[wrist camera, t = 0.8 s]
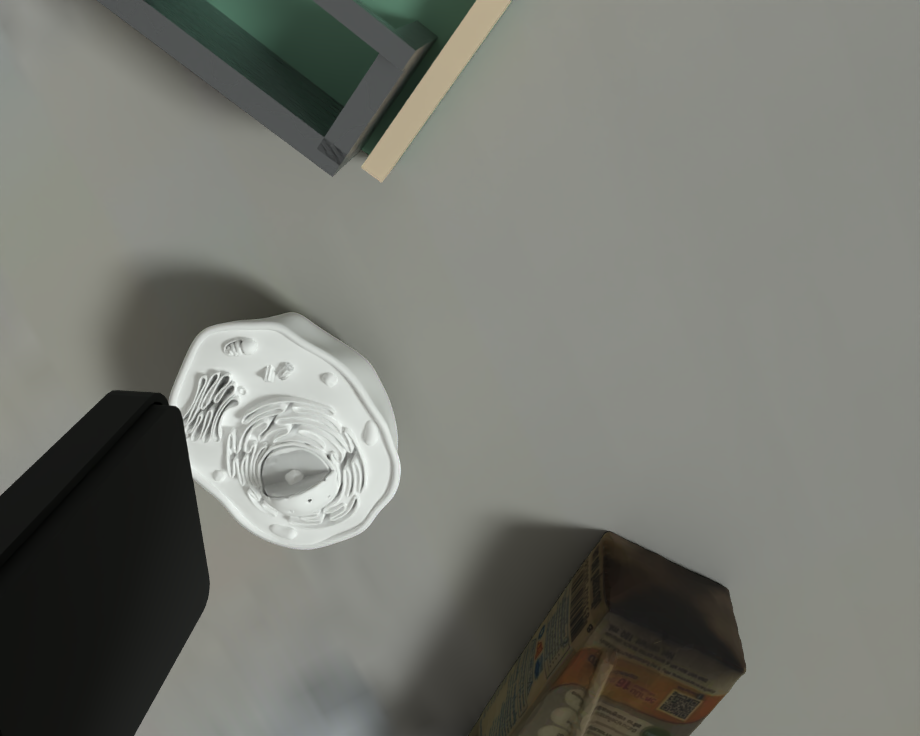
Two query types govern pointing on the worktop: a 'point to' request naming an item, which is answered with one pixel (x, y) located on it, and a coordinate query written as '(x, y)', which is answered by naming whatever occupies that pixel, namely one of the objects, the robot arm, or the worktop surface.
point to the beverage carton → (622, 653)
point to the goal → (285, 71)
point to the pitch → (372, 56)
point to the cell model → (288, 429)
